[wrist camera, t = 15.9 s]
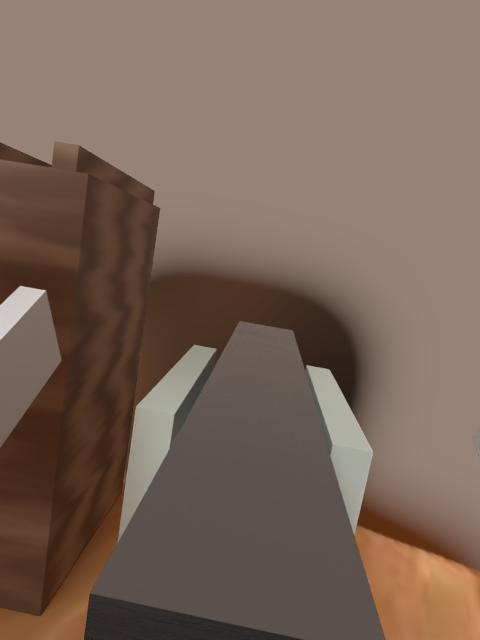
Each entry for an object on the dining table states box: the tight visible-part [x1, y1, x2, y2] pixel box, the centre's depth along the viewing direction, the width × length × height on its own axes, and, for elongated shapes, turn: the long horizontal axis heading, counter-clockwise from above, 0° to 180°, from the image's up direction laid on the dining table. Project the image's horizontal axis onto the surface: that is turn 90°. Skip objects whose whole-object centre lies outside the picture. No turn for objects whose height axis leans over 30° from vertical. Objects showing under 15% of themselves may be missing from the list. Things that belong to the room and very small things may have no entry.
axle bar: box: [84, 321, 385, 640], centre depth 19 cm, size 26×4×4 cm, turn 176°
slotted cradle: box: [118, 345, 373, 542], centre depth 23 cm, size 12×9×20 cm
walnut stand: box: [0, 142, 160, 616], centre depth 35 cm, size 16×10×32 cm, turn 176°
